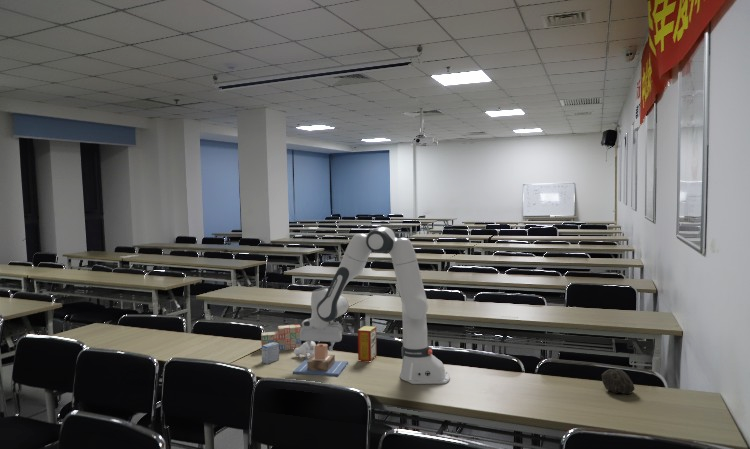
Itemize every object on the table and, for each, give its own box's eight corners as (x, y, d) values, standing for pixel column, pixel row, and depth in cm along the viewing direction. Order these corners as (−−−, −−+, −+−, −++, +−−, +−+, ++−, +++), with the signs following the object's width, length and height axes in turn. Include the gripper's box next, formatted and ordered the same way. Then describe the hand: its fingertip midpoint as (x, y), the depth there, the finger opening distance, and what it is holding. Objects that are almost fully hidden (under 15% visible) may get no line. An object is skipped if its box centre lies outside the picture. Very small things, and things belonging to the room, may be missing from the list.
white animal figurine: (311, 342, 246) (290, 343, 250) (313, 359, 246) (292, 359, 250) (316, 339, 252) (295, 340, 256) (318, 355, 252) (297, 356, 256)
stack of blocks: (262, 352, 261) (261, 329, 260) (261, 349, 267) (260, 327, 266) (301, 348, 267) (301, 326, 266) (300, 345, 273) (299, 324, 272)
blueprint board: (348, 363, 239) (347, 353, 239) (338, 376, 222) (338, 364, 222) (305, 361, 244) (305, 351, 243) (293, 373, 226) (292, 362, 226)
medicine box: (273, 358, 250) (273, 341, 249) (279, 359, 247) (279, 343, 247) (261, 362, 243) (261, 345, 243) (267, 364, 240) (267, 346, 240)
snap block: (327, 356, 234) (327, 343, 234) (324, 359, 230) (324, 346, 229) (317, 355, 235) (317, 342, 235) (314, 359, 231) (314, 345, 230)
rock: (640, 393, 194) (635, 368, 194) (615, 399, 192) (610, 374, 193) (624, 387, 204) (619, 363, 204) (600, 392, 202) (595, 368, 203)
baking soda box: (364, 355, 252) (364, 325, 252) (376, 356, 250) (376, 325, 250) (358, 360, 243) (357, 329, 243) (370, 362, 241) (370, 330, 241)
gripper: (343, 320, 233) (343, 349, 234) (302, 319, 237) (303, 347, 237) (339, 323, 227) (340, 353, 227) (298, 322, 231) (299, 351, 231)
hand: (321, 350), depth 232 cm, fingers open, 8 cm apart
